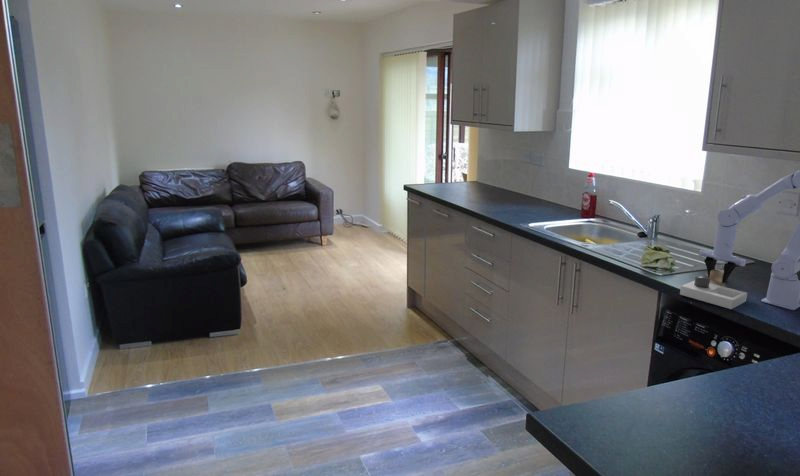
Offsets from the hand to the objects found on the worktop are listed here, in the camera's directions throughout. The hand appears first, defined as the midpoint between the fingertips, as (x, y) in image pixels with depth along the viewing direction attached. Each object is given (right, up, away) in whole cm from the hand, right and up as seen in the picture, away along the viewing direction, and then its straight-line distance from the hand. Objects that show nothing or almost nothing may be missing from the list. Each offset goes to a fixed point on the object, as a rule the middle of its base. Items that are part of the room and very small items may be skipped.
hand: (717, 280), depth 198 cm
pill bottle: (+6, 0, +13) cm, 15 cm away
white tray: (-7, -5, -11) cm, 14 cm away
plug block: (0, -2, +1) cm, 2 cm away
